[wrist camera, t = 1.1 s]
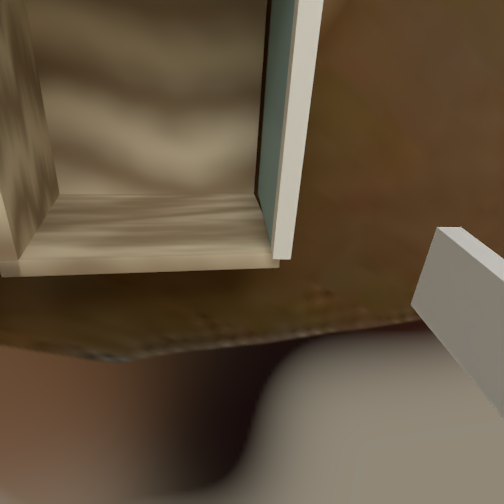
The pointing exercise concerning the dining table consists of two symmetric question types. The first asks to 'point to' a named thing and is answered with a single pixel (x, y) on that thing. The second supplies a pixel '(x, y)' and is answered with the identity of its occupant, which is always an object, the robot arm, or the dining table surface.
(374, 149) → the dining table surface
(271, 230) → the light blue flat panel
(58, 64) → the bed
